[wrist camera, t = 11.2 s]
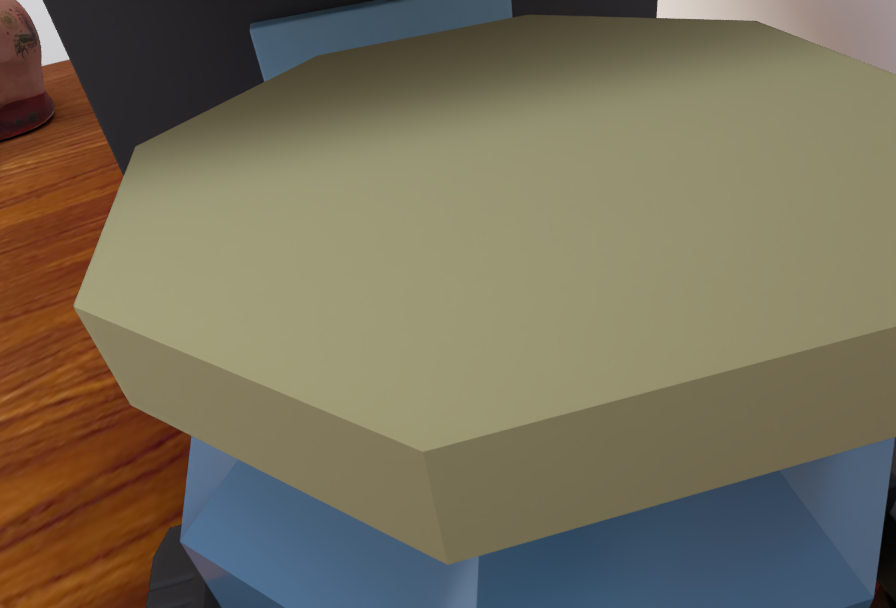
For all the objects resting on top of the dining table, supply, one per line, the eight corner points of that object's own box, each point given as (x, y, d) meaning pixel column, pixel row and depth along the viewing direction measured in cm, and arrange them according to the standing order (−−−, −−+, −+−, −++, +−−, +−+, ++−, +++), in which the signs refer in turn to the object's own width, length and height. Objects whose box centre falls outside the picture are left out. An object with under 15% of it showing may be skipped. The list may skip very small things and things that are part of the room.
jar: (842, 757, 15) (1258, 88, 6) (529, 1151, 11) (284, 1028, 2) (556, 495, 21) (535, -18, 12) (295, 688, 17) (-17, 154, 8)
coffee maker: (591, 352, 29) (599, -332, 16) (794, 674, 18) (1369, -706, 5) (274, 431, 28) (-7, -249, 14) (281, 836, 17) (-902, -511, 3)
